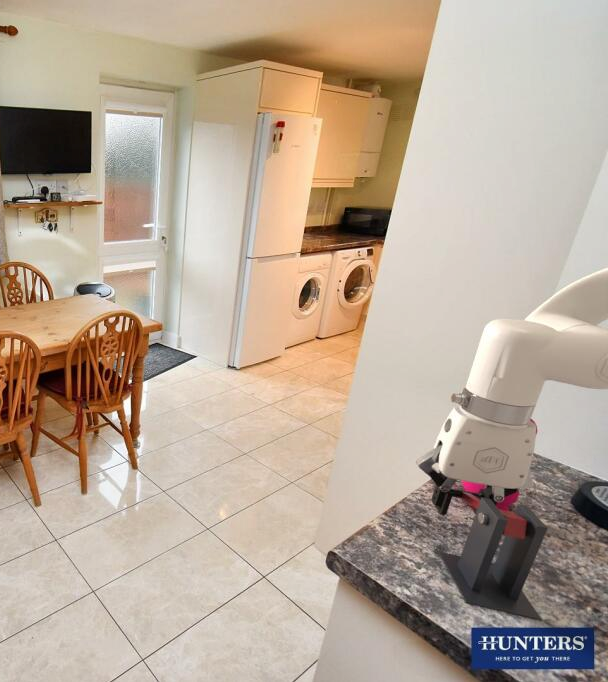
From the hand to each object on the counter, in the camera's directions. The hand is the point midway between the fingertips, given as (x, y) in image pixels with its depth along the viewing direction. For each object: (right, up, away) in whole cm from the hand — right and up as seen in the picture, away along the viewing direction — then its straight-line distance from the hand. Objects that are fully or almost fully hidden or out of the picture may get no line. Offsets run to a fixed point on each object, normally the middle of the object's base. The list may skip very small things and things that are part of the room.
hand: (459, 512), depth 68 cm
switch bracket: (-3, -7, -8) cm, 11 cm away
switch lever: (-2, +2, -6) cm, 7 cm away
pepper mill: (+10, -3, +8) cm, 13 cm away
